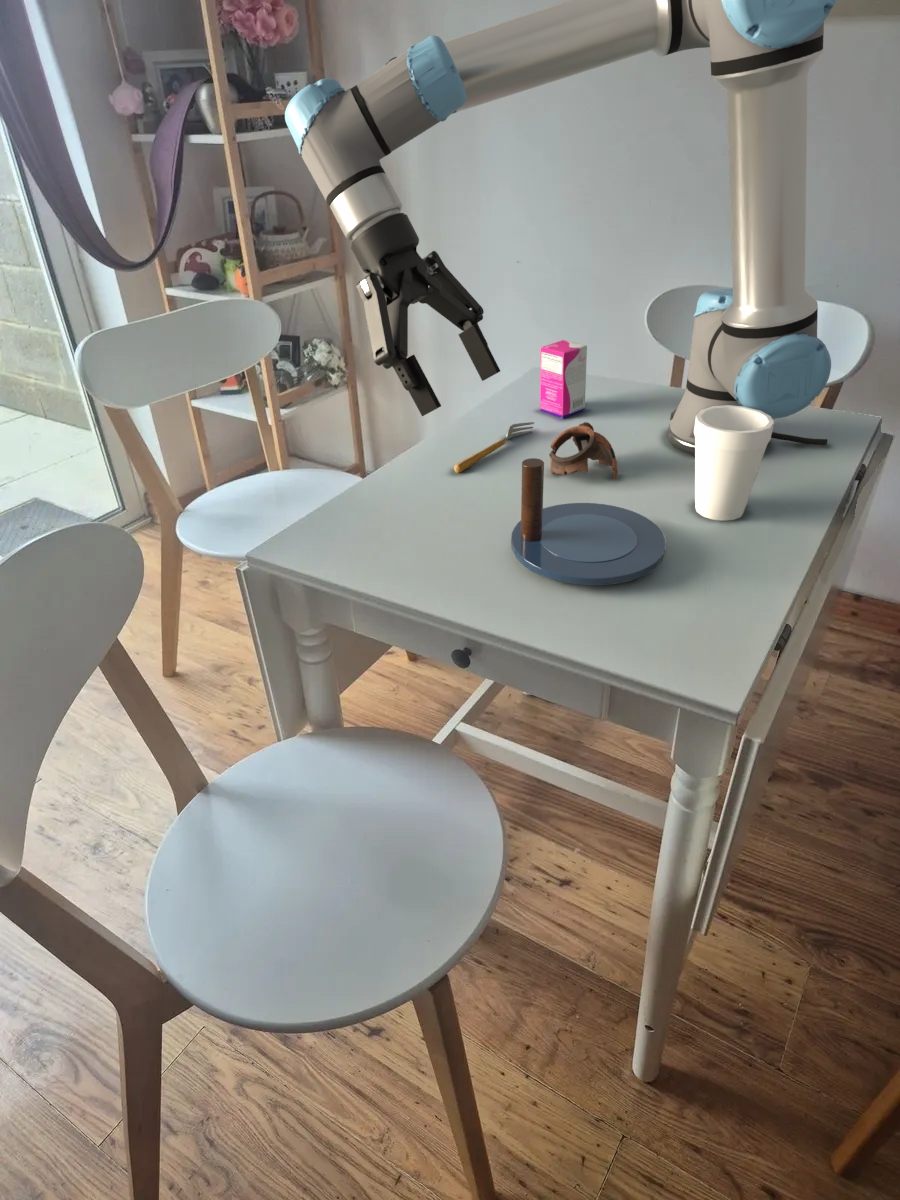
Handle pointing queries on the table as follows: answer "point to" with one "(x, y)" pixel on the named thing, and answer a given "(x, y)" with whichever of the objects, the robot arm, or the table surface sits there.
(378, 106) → the robot arm
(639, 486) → the table surface
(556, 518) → the blue disc with rod
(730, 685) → the table surface
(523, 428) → the fork
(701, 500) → the foam cup
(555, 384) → the supplement box
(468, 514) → the table surface
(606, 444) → the broken brown clay pot
